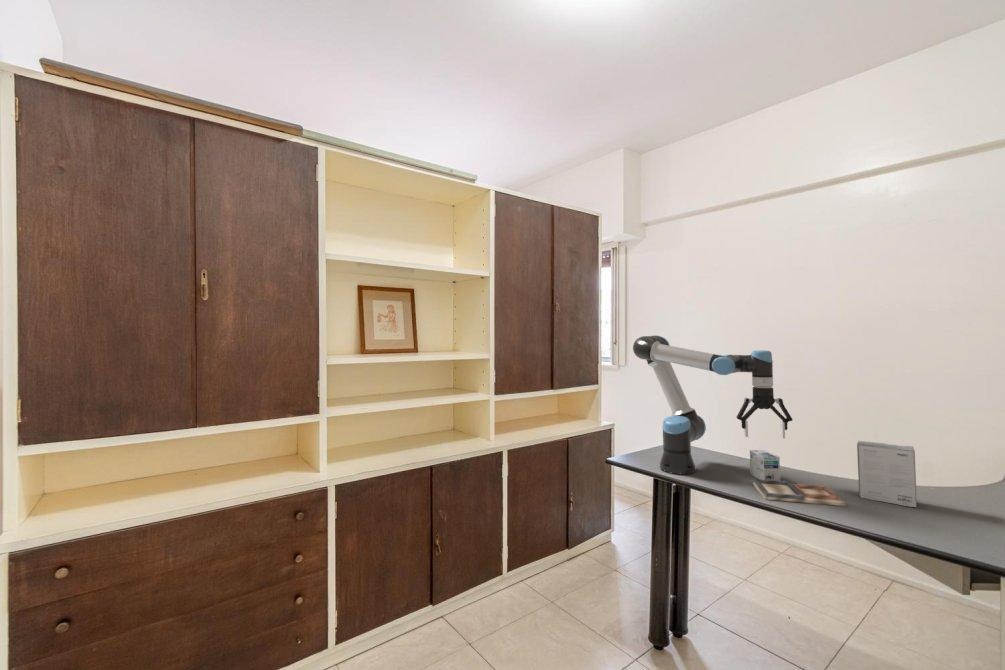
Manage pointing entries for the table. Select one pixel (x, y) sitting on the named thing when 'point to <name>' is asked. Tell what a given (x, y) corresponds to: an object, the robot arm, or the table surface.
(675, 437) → the robot arm
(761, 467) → the light bulb box
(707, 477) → the table surface
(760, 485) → the sorting board
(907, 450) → the hard drive box
